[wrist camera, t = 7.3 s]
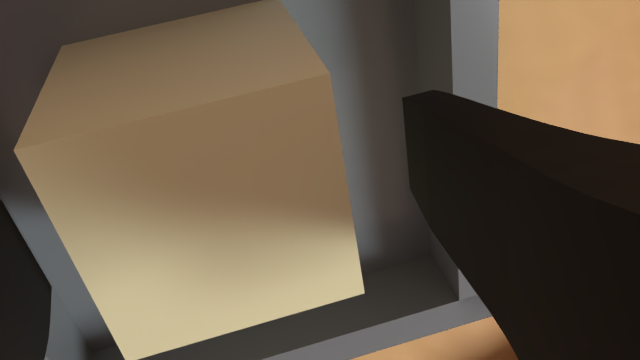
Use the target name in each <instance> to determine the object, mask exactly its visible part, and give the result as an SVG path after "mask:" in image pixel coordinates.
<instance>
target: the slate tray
mask: <svg viewBox="0 0 640 360" xmlns="http://www.w3.org/2000/svg"><path fill="white" fill-rule="evenodd" d="M257 1H261V0H0V200H2V202H3V203H4V205H5V207H6V208H7V210H8V212H9V214H10V215H11V217H12V219H13V221H14V222H15V224H16V226H17V227H18V229H19V231H20V233H21V234H22V236H23V238H24V240H25V241H26V243H27V245H28V246H29V248H30V250H31V252H32V253H33V255H34V257H35V259H36V260H37V262H38V264H39V265H40V267H41V269H42V271H43V272H44V274H45V276H46V278H47V279H48V281H49V283H50V284H51V286H52V293H51V317H50V330H49V339H48V344H47V350H46V354H45V359H44V360H125V359H124V357H123V355H122V353H121V351H120V349H119V347H118V345H117V344H116V342H115V340H114V338H113V336H112V334H111V332H110V330H109V329H108V327H107V325H106V323H105V321H104V319H103V317H102V315H101V314H100V312H99V310H98V308H97V306H96V304H95V302H94V300H93V299H92V297H91V295H90V293H89V291H88V289H87V287H86V285H85V284H84V282H83V280H82V278H81V276H80V274H79V272H78V270H77V269H76V267H75V265H74V263H73V261H72V259H71V257H70V255H69V254H68V252H67V250H66V248H65V246H64V244H63V242H62V240H61V239H60V237H59V235H58V233H57V231H56V229H55V227H54V225H53V224H52V222H51V220H50V218H49V216H48V214H47V212H46V210H45V209H44V207H43V205H42V203H41V201H40V199H39V197H38V195H37V194H36V192H35V190H34V188H33V186H32V184H31V182H30V180H29V179H28V177H27V175H26V173H25V171H24V169H23V167H22V165H21V164H20V162H19V160H18V158H17V156H16V154H15V152H14V148H15V146H16V144H17V142H18V140H19V137H20V135H21V133H22V131H23V129H24V127H25V124H26V122H27V120H28V118H29V116H30V114H31V111H32V109H33V107H34V105H35V103H36V101H37V98H38V96H39V94H40V92H41V90H42V88H43V85H44V83H45V81H46V79H47V77H48V74H49V72H50V70H51V68H52V66H53V64H54V61H55V59H56V57H57V55H58V53H59V51H60V48H61V46H63V45H68V44H72V43H77V42H81V41H85V40H90V39H94V38H99V37H103V36H107V35H112V34H116V33H121V32H125V31H129V30H134V29H138V28H142V27H147V26H151V25H156V24H160V23H164V22H169V21H173V20H178V19H182V18H186V17H191V16H195V15H200V14H204V13H208V12H213V11H217V10H222V9H226V8H230V7H235V6H239V5H243V4H248V3H252V2H257ZM280 1H281V2H282V4H283V5H284V7H285V8H286V10H287V11H288V13H289V14H290V16H291V17H292V18H293V20H294V21H295V23H296V24H297V26H298V27H299V29H300V30H301V32H302V33H303V34H304V36H305V37H306V39H307V40H308V42H309V43H310V45H311V46H312V48H313V49H314V51H315V52H316V53H317V55H318V56H319V58H320V59H321V61H322V62H323V64H324V65H325V67H326V68H327V70H328V71H329V72H330V77H331V84H332V90H333V96H334V102H335V109H336V115H337V121H338V128H339V134H340V140H341V147H342V153H343V159H344V166H345V172H346V178H347V184H348V191H349V197H350V203H351V210H352V216H353V222H354V229H355V235H356V241H357V248H358V254H359V260H360V266H361V273H362V279H363V285H364V292H365V293H364V294H361V295H357V296H354V297H350V298H347V299H344V300H340V301H337V302H333V303H330V304H326V305H323V306H320V307H316V308H313V309H309V310H306V311H302V312H299V313H296V314H292V315H289V316H285V317H282V318H278V319H275V320H271V321H268V322H265V323H261V324H258V325H254V326H251V327H247V328H244V329H241V330H237V331H234V332H230V333H227V334H223V335H220V336H217V337H213V338H210V339H206V340H203V341H199V342H196V343H192V344H189V345H186V346H182V347H179V348H175V349H172V350H168V351H165V352H162V353H158V354H155V355H151V356H148V357H144V358H141V359H138V360H349V359H353V358H356V357H359V356H363V355H366V354H369V353H372V352H376V351H379V350H382V349H386V348H389V347H392V346H395V345H399V344H402V343H405V342H409V341H412V340H415V339H419V338H422V337H425V336H428V335H432V334H435V333H438V332H442V331H445V330H448V329H451V328H455V327H458V326H461V325H465V324H468V323H471V322H475V321H478V320H481V319H484V318H488V317H491V316H492V314H491V313H490V312H489V310H488V309H487V307H486V306H485V305H484V303H483V302H482V301H481V299H480V298H479V296H478V295H477V294H476V292H475V291H474V289H473V288H472V287H471V285H470V284H469V282H468V281H467V280H466V278H465V277H464V276H463V274H462V273H461V271H460V270H459V269H458V267H457V266H456V264H455V263H454V262H453V260H452V259H451V257H450V256H449V255H448V253H447V252H446V250H445V249H444V248H443V246H442V245H441V243H440V242H439V240H438V239H437V238H436V236H435V235H434V233H433V232H432V230H431V229H430V227H429V225H428V223H427V221H426V220H425V218H424V216H423V214H422V212H421V210H420V208H419V206H418V204H417V202H416V200H415V198H414V196H413V194H412V192H411V190H410V185H409V173H408V161H407V149H406V138H405V126H404V114H403V102H402V97H406V96H410V95H414V94H418V93H422V92H426V91H430V90H438V91H443V92H447V93H450V94H454V95H457V96H460V97H464V98H467V99H470V100H473V101H476V102H479V103H482V104H485V105H488V106H491V107H494V108H497V86H498V29H499V0H280Z"/></svg>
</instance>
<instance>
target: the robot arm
mask: <svg viewBox="0 0 640 360" xmlns="http://www.w3.org/2000/svg"><path fill="white" fill-rule="evenodd" d="M402 102H403V114H404V126H405V138H406V149H407V161H408V173H409V185H410V190H411V192H412V194H413V196H414V198H415V200H416V202H417V204H418V206H419V208H420V210H421V212H422V214H423V216H424V218H425V220H426V221H427V223H428V225H429V227H430V229H431V230H432V232H433V233H434V235H435V236H436V238H437V239H438V240H439V242H440V243H441V245H442V246H443V248H444V249H445V250H446V252H447V253H448V255H449V256H450V257H451V259H452V260H453V262H454V263H455V264H456V266H457V267H458V269H459V270H460V271H461V273H462V274H463V276H464V277H465V278H466V280H467V281H468V282H469V284H470V285H471V287H472V288H473V289H474V291H475V292H476V294H477V295H478V296H479V298H480V299H481V301H482V302H483V303H484V305H485V306H486V307H487V309H488V310H489V312H490V313H491V314H492V316H493V317H494V319H495V321H496V322H497V324H498V325H499V327H500V328H501V330H502V331H503V333H504V334H505V336H506V338H507V339H508V341H509V343H510V345H511V347H512V348H513V350H514V352H515V354H516V355H517V357H518V359H519V360H640V144H634V143H629V142H624V141H618V140H613V139H607V138H602V137H598V136H593V135H589V134H584V133H580V132H576V131H572V130H568V129H565V128H561V127H557V126H553V125H549V124H546V123H542V122H539V121H535V120H532V119H529V118H525V117H522V116H519V115H516V114H513V113H509V112H506V111H503V110H500V109H497V108H494V107H491V106H488V105H485V104H482V103H479V102H476V101H473V100H470V99H467V98H464V97H460V96H457V95H454V94H450V93H447V92H443V91H438V90H430V91H426V92H422V93H418V94H414V95H410V96H406V97H402ZM51 293H52V286H51V284H50V283H49V281H48V279H47V278H46V276H45V274H44V272H43V271H42V269H41V267H40V265H39V264H38V262H37V260H36V259H35V257H34V255H33V253H32V252H31V250H30V248H29V246H28V245H27V243H26V241H25V240H24V238H23V236H22V234H21V233H20V231H19V229H18V227H17V226H16V224H15V222H14V221H13V219H12V217H11V215H10V214H9V212H8V210H7V208H6V207H5V205H4V203H3V202H2V200H0V360H44V359H45V354H46V350H47V344H48V339H49V330H50V317H51Z"/></svg>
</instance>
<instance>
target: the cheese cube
mask: <svg viewBox="0 0 640 360" xmlns="http://www.w3.org/2000/svg"><path fill="white" fill-rule="evenodd" d="M14 152H15V154H16V156H17V158H18V160H19V162H20V164H21V165H22V167H23V169H24V171H25V173H26V175H27V177H28V179H29V180H30V182H31V184H32V186H33V188H34V190H35V192H36V194H37V195H38V197H39V199H40V201H41V203H42V205H43V207H44V209H45V210H46V212H47V214H48V216H49V218H50V220H51V222H52V224H53V225H54V227H55V229H56V231H57V233H58V235H59V237H60V239H61V240H62V242H63V244H64V246H65V248H66V250H67V252H68V254H69V255H70V257H71V259H72V261H73V263H74V265H75V267H76V269H77V270H78V272H79V274H80V276H81V278H82V280H83V282H84V284H85V285H86V287H87V289H88V291H89V293H90V295H91V297H92V299H93V300H94V302H95V304H96V306H97V308H98V310H99V312H100V314H101V315H102V317H103V319H104V321H105V323H106V325H107V327H108V329H109V330H110V332H111V334H112V336H113V338H114V340H115V342H116V344H117V345H118V347H119V349H120V351H121V353H122V355H123V357H124V359H125V360H138V359H141V358H144V357H148V356H151V355H155V354H158V353H162V352H165V351H168V350H172V349H175V348H179V347H182V346H186V345H189V344H192V343H196V342H199V341H203V340H206V339H210V338H213V337H217V336H220V335H223V334H227V333H230V332H234V331H237V330H241V329H244V328H247V327H251V326H254V325H258V324H261V323H265V322H268V321H271V320H275V319H278V318H282V317H285V316H289V315H292V314H296V313H299V312H302V311H306V310H309V309H313V308H316V307H320V306H323V305H326V304H330V303H333V302H337V301H340V300H344V299H347V298H350V297H354V296H357V295H361V294H364V293H365V292H364V285H363V279H362V273H361V266H360V260H359V254H358V248H357V241H356V235H355V229H354V222H353V216H352V210H351V203H350V197H349V191H348V184H347V178H346V172H345V166H344V159H343V153H342V147H341V140H340V134H339V128H338V121H337V115H336V109H335V102H334V96H333V90H332V84H331V77H330V72H329V71H328V70H327V68H326V67H325V65H324V64H323V62H322V61H321V59H320V58H319V56H318V55H317V53H316V52H315V51H314V49H313V48H312V46H311V45H310V43H309V42H308V40H307V39H306V37H305V36H304V34H303V33H302V32H301V30H300V29H299V27H298V26H297V24H296V23H295V21H294V20H293V18H292V17H291V16H290V14H289V13H288V11H287V10H286V8H285V7H284V5H283V4H282V2H281V1H280V0H261V1H257V2H252V3H248V4H243V5H239V6H235V7H230V8H226V9H222V10H217V11H213V12H208V13H204V14H200V15H195V16H191V17H186V18H182V19H178V20H173V21H169V22H164V23H160V24H156V25H151V26H147V27H142V28H138V29H134V30H129V31H125V32H121V33H116V34H112V35H107V36H103V37H99V38H94V39H90V40H85V41H81V42H77V43H72V44H68V45H63V46H61V48H60V51H59V53H58V55H57V57H56V59H55V61H54V64H53V66H52V68H51V70H50V72H49V74H48V77H47V79H46V81H45V83H44V85H43V88H42V90H41V92H40V94H39V96H38V98H37V101H36V103H35V105H34V107H33V109H32V111H31V114H30V116H29V118H28V120H27V122H26V124H25V127H24V129H23V131H22V133H21V135H20V137H19V140H18V142H17V144H16V146H15V148H14Z"/></svg>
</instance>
